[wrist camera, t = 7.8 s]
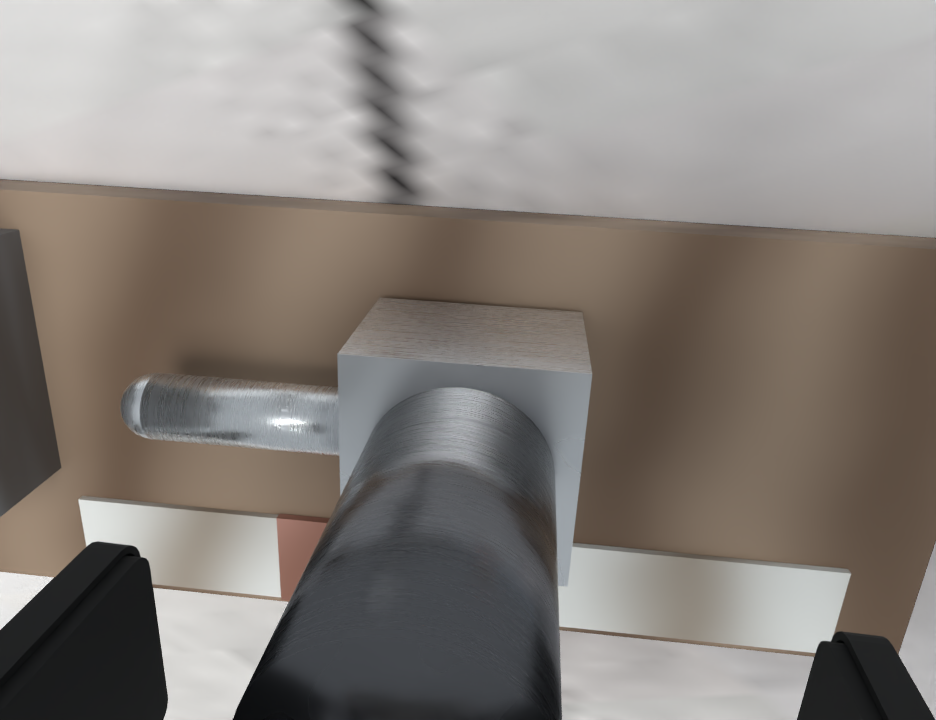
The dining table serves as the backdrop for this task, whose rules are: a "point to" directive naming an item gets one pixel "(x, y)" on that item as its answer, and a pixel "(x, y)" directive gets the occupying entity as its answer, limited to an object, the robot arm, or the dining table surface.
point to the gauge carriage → (416, 510)
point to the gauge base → (495, 284)
